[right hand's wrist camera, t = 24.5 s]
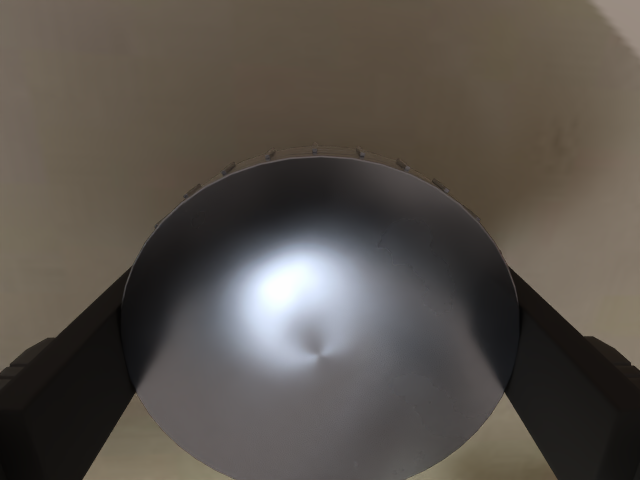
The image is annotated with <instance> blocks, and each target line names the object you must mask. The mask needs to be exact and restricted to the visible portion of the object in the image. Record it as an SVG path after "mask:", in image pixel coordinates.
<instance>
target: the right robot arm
mask: <svg viewBox="0 0 640 480" xmlns="http://www.w3.org/2000/svg"><path fill="white" fill-rule="evenodd" d="M132 266H133V265H132ZM132 266H131V267H130V268H129V269H128V270H127V271H126V272H125V273H124V274H123V275H122V276H121V277H120V278H119V279H118V280H116V281H115V282H114V283H113V284H112V285H111V286H110V287H109V288H108V289H107V290H106V291H105V292H104V293H103V294H102V295H101V296H99V297H98V298H97V299H96V300H95V301H94V302H93V303H92V304H91V305H90V306H89V307H88V308H87V309H86V310H85V311H84V312H82V313H81V314H80V315H79V316H78V317H77V318H76V319H75V320H74V321H73V322H72V323H71V324H70V325H69V326H68V327H66V328H65V329H64V330H63V331H62V332H61V333H60V334H59V335H58V336H57V337H56V338H46V339H45V340H43V341H41V342H39V343H38V344H36V345H34V346H32V347H30V348H29V349H27V350H25V351H24V352H23V353H22V354H21V355H20V356H19V357H18V358H16V359H15V360H14V361H13V362H12V363H11V364H10V367H6V368H5V369H4V370H3V371H2V372H1V373H0V480H82V479H83V478H84V476H85V475H86V473H87V471H88V470H89V468H90V466H91V465H92V463H93V461H94V460H95V458H96V456H97V455H98V453H99V452H100V450H101V448H102V447H103V445H104V443H105V442H106V440H107V438H108V437H109V435H110V433H111V432H112V430H113V429H114V427H115V425H116V424H117V422H118V420H119V419H120V417H121V415H122V414H123V412H124V410H125V409H126V407H127V405H128V404H129V402H130V401H131V399H132V397H133V396H134V394H135V392H136V391H135V389H134V386H133V384H132V382H131V380H130V377H129V375H128V371H127V368H126V364H125V360H124V355H123V350H122V345H121V337H120V316H121V305H122V300H123V295H124V289H125V285H126V282H127V280H128V277H129V274H130V271H131V269H132ZM508 268H509V271H510V273H511V276H512V279H513V282H514V285H515V288H516V293H517V299H518V304H519V309H520V339H519V347H518V352H517V357H516V361H515V365H514V369H513V372H512V376H511V378H510V380H509V383H508V385H507V387H506V389H505V391H504V392H505V394H506V395H507V397H508V398H509V400H510V402H511V403H512V405H513V407H514V408H515V410H516V412H517V413H518V415H519V417H520V418H521V420H522V421H523V423H524V425H525V426H526V428H527V430H528V431H529V433H530V435H531V436H532V438H533V440H534V441H535V443H536V445H537V446H538V448H539V449H540V451H541V453H542V454H543V456H544V458H545V459H546V461H547V463H548V464H549V466H550V468H551V469H552V471H553V472H554V474H555V476H556V477H557V479H558V480H640V370H638V369H637V368H636V367H635V366H631V362H629V361H628V360H627V359H626V358H625V357H624V356H623V355H621V354H620V353H619V352H618V351H617V350H616V349H615V348H613V347H611V346H609V345H607V344H606V343H604V342H602V341H600V340H598V339H597V338H595V337H593V336H582V335H581V334H580V333H579V332H578V331H577V330H576V329H575V328H574V327H573V326H572V325H571V324H570V323H568V322H567V321H566V320H565V319H564V318H563V317H562V316H561V315H560V314H559V313H558V312H557V311H556V310H555V309H554V308H553V307H551V306H550V305H549V304H548V303H547V302H546V301H545V300H544V299H543V298H542V297H541V296H540V295H539V294H538V293H537V292H535V291H534V290H533V289H532V288H531V287H530V286H529V285H528V284H527V283H526V282H525V281H524V280H523V279H522V278H521V277H520V276H518V275H517V274H516V273H515V272H514V271H513V270H512V269H511V268H510V267H509V266H508Z"/></svg>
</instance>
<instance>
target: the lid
mask: <svg viewBox="0 0 640 480" xmlns="http://www.w3.org/2000/svg"><path fill="white" fill-rule="evenodd" d="M448 192H449V189H447V188H446V187H445V186H443V185H442V184H441V183H440V182H438V181H437V180H436V179H433V180H432V181H431V180H429V179H428V178H427V177H425V176H424V175H422V174H421V173H419V172H417V171H415V170H413V169H411V168H410V167H409V166H408V165H407V164H406V163H405V162H404V161H402V160H401V159H399V158H398V159H397V161H395V160H392V159H389V158H387V157H384V156H381V155H378V154H375V153H372V152H367V151H363V149H362V148H361V147H360V146H357V147H356V149H352V148H347V147H333V146H318V143H313V146H307V147H293V148H288V149H283V150H278V151H275V149H274V148H271V149H270V150H269V151H268V152H267V153H265V154H262V155H259V156H257V157H254V158H251V159H248V160H245V161H242V162H241V163H239V164H237V165H235V163H234V162H233V163H231V164H229V165H228V166H227V167H226V168H225V169H223V170H222V171H221V173H219V174H218V175H217V176H215V177H214V178H212V179H211V180H209V181H208V182H207V183H205V184H204V185H202V186H201V185H200V184H198V185H197V186H195V187H194V188H193V189H192V190H190V191H189V192H188V193H187V194H185V195H184V196H183V197H184V198H185V200H184V201H182V202H181V203H180V204H179V205H178V206H177V207H176V208H175V209H174V210H173V211H172V212H170V213H169V214H168V215H167V216H166V217H164V218H163V219H162V220H161V221H159V222H158V223H157V224H156V225H155V228H156V229H155V230H154V231H153V233H152V234H151V235H150V236H149V238H148V239H147V240H146V242H145V243H144V245H143V247H142V249H141V251H140V252H139V254H138V256H137V258H136V260H135V261H134V263H133V266H132V269H131V271H130V274H129V277H128V280H127V282H126V285H125V289H124V295H123V300H122V305H121V316H120V337H121V345H122V350H123V355H124V360H125V364H126V368H127V371H128V375H129V377H130V380H131V382H132V384H133V386H134V389H135V391H136V393H137V395H138V397H139V399H140V400H141V402H142V403H143V405H144V407H145V408H146V410H147V411H148V413H149V414H150V416H151V417H152V418H153V419H154V421H155V422H156V423H157V424H158V425H159V427H160V428H161V429H162V430H163V431H164V432H165V433H166V434H167V435H168V436H169V437H170V438H171V439H172V440H173V441H174V442H175V443H176V444H177V445H178V446H180V447H181V448H182V449H184V450H185V451H186V452H187V453H189V454H190V455H191V456H193V457H194V458H195V459H197V460H199V461H200V462H202V463H204V464H205V465H207V466H209V467H210V468H212V469H214V470H216V471H218V472H220V473H222V474H224V475H227V476H229V477H231V478H233V479H236V480H405V479H407V478H409V477H412V476H414V475H416V474H418V473H420V472H423V471H425V470H427V469H428V468H430V467H432V466H433V465H435V464H437V463H438V462H440V461H442V460H443V459H445V458H446V457H448V456H449V455H450V454H452V453H453V452H454V451H456V450H457V449H458V448H460V447H461V446H462V445H463V444H464V443H465V442H466V441H467V440H468V439H469V438H470V437H472V436H473V435H474V434H475V433H476V432H477V431H478V430H479V428H480V427H481V426H482V425H483V423H484V422H485V421H486V420H487V419H488V417H489V416H490V415H491V414H492V412H493V410H494V409H495V407H496V406H497V404H498V402H499V401H500V399H501V398H502V396H503V394H504V391H505V389H506V387H507V385H508V383H509V380H510V378H511V376H512V372H513V369H514V365H515V361H516V357H517V352H518V347H519V339H520V309H519V304H518V299H517V293H516V288H515V285H514V282H513V279H512V276H511V273H510V271H509V268H508V265H507V263H506V261H505V259H504V258H503V256H502V253H501V251H500V250H499V248H498V247H497V245H496V243H495V242H494V240H493V239H492V238H491V236H490V235H489V234H488V232H487V231H486V230H485V229H484V227H483V226H482V225H481V223H480V222H479V221H480V219H479V217H477V216H476V215H475V214H474V213H473V212H471V211H470V210H469V209H468V208H466V207H465V206H464V205H461V204H460V203H459V202H458V201H457V200H455V199H454V198H453V197H452V196H450V195H449V194H448Z"/></svg>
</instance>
